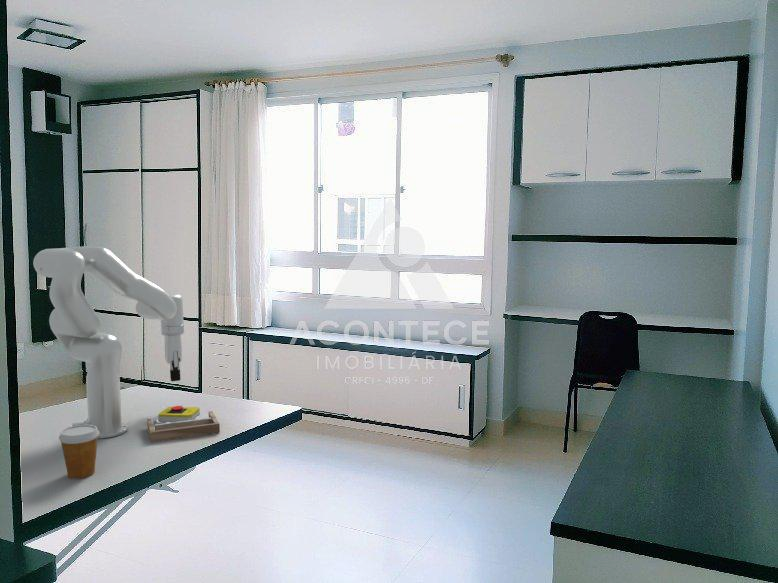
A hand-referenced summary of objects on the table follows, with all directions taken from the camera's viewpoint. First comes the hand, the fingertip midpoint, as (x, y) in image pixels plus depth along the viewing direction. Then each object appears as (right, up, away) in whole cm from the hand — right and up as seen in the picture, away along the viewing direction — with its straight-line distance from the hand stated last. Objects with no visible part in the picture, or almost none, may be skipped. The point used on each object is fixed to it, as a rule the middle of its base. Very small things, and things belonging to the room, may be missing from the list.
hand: (175, 380), depth 218 cm
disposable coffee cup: (-5, -17, -56) cm, 59 cm away
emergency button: (+5, -12, -10) cm, 16 cm away
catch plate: (+10, -13, -23) cm, 28 cm away
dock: (+10, -13, -22) cm, 27 cm away
